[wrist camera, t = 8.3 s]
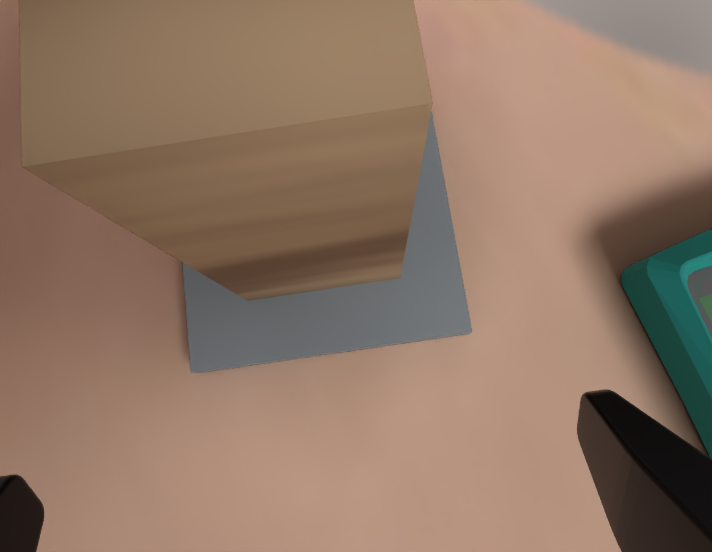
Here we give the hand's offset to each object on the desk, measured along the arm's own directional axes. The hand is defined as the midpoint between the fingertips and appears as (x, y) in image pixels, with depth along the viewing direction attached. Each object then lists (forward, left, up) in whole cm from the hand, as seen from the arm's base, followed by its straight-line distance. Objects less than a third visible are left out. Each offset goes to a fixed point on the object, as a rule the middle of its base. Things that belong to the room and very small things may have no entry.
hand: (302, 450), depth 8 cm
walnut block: (+6, +2, -8) cm, 10 cm away
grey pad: (+6, +2, -9) cm, 11 cm away
